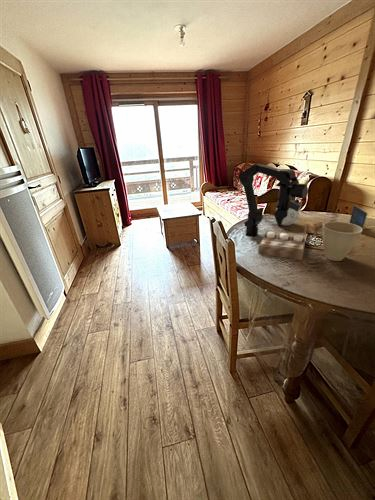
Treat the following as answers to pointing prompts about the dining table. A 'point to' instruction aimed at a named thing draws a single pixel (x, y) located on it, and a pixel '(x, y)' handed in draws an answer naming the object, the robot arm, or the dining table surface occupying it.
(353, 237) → the plant pot
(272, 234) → the button left
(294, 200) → the robot arm
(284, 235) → the button middle
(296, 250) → the button board
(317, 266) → the dining table surface
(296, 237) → the button right
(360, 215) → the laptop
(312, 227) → the lion figurine
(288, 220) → the puzzle ball
